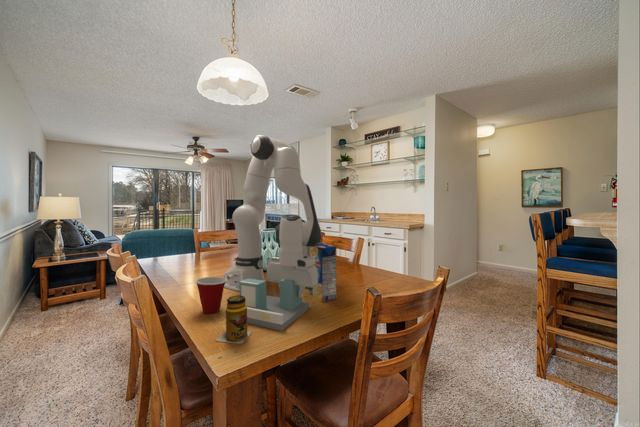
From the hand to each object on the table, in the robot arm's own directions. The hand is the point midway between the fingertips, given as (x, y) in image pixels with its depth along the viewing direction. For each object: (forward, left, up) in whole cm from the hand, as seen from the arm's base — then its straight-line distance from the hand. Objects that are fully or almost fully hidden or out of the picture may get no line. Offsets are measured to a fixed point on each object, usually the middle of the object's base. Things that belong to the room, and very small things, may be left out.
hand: (291, 295), depth 100 cm
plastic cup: (-27, -12, -6) cm, 30 cm away
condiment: (-6, -24, -6) cm, 25 cm away
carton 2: (0, 0, -4) cm, 4 cm away
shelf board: (-5, -5, -6) cm, 9 cm away
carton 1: (-11, -9, -4) cm, 14 cm away
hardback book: (-11, +32, -6) cm, 34 cm away
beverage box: (+5, +18, -6) cm, 19 cm away
